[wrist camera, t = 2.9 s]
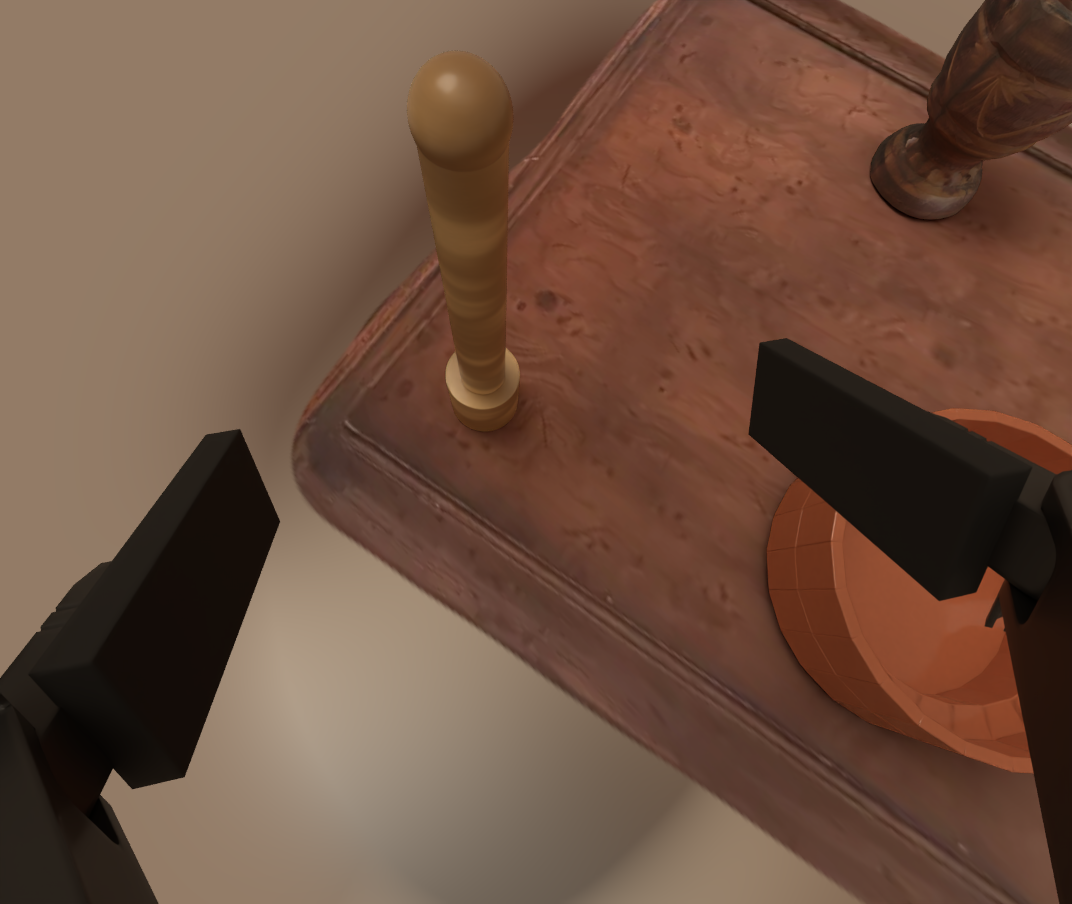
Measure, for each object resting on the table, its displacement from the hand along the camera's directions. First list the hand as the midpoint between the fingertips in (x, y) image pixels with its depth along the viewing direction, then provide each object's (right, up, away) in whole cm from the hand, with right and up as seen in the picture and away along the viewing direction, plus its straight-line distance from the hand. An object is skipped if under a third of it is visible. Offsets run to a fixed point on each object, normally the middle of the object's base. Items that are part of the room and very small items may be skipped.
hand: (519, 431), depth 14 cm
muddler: (-3, +3, +19) cm, 19 cm away
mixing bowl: (+21, -8, +17) cm, 29 cm away
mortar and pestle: (+27, +20, +25) cm, 42 cm away
